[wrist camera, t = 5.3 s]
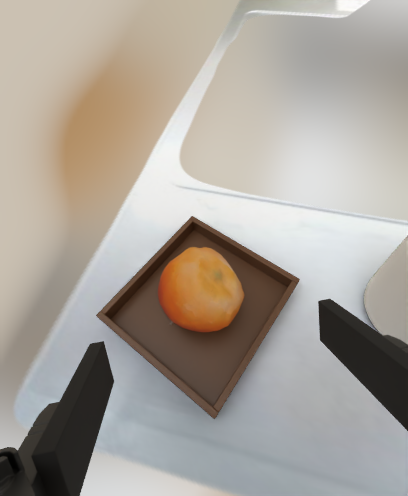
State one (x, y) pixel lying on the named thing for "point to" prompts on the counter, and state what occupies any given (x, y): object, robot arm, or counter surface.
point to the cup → (390, 295)
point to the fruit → (200, 290)
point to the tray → (191, 342)
